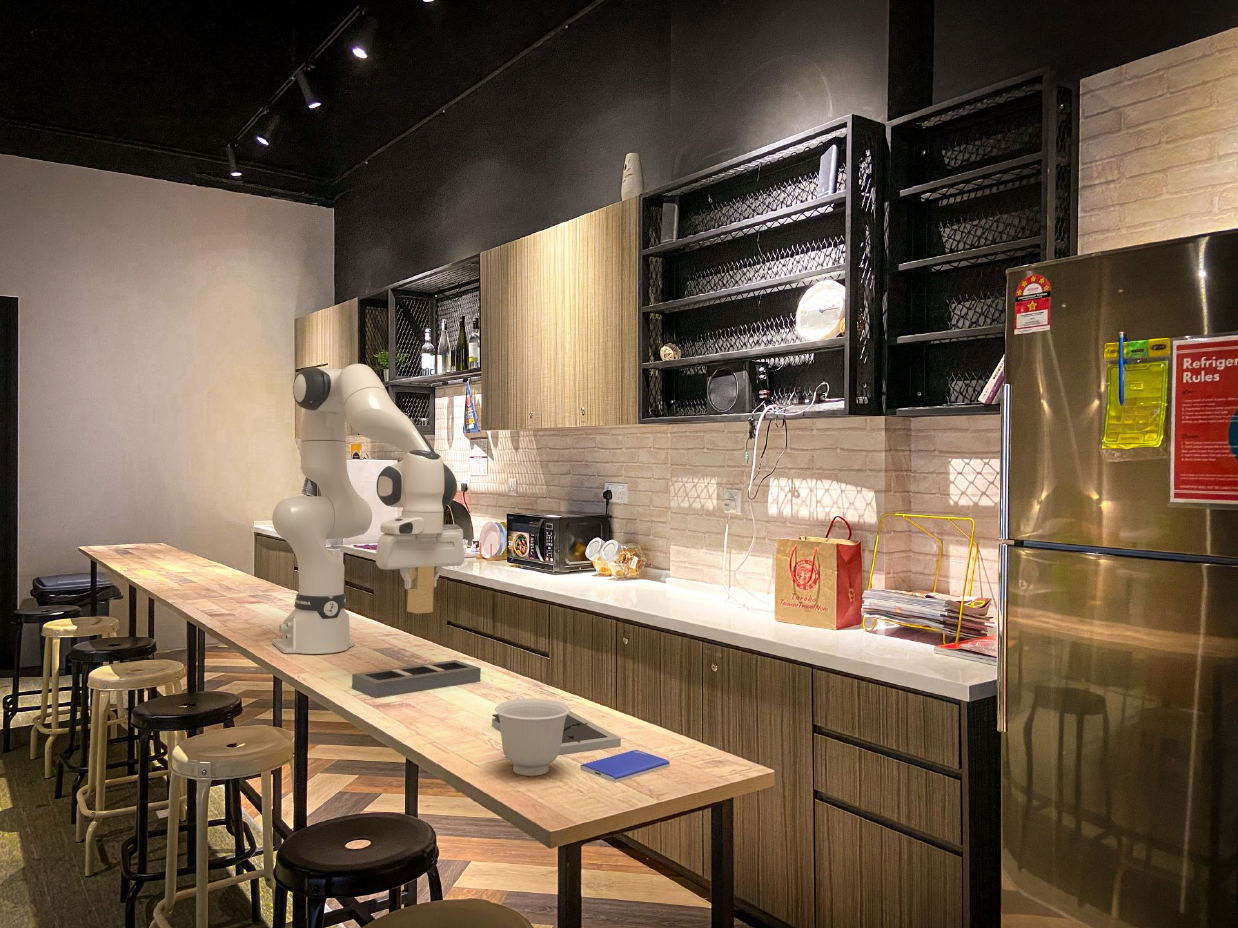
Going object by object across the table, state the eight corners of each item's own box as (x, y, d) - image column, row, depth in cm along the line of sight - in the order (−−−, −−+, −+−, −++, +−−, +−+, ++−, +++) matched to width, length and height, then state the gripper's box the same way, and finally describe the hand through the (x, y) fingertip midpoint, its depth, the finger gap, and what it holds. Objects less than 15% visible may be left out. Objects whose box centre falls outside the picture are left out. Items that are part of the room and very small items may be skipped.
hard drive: (634, 748, 159) (580, 763, 150) (669, 760, 153) (615, 776, 144) (634, 757, 159) (580, 773, 150) (669, 769, 153) (615, 786, 144)
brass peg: (407, 611, 204) (408, 565, 204) (423, 609, 206) (424, 564, 206) (416, 613, 201) (418, 567, 201) (432, 612, 203) (434, 566, 203)
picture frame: (491, 729, 174) (538, 761, 156) (492, 714, 174) (539, 744, 156) (567, 720, 181) (620, 749, 163) (568, 705, 181) (621, 733, 163)
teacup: (550, 750, 160) (552, 692, 160) (578, 778, 146) (580, 714, 146) (481, 756, 155) (483, 696, 155) (503, 786, 141) (505, 720, 141)
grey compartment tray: (351, 687, 199) (352, 672, 199) (454, 672, 216) (455, 658, 216) (375, 697, 191) (375, 682, 191) (480, 681, 208) (480, 666, 208)
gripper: (455, 522, 213) (453, 583, 213) (373, 524, 199) (371, 589, 199) (470, 524, 208) (468, 586, 208) (387, 526, 195) (385, 592, 194)
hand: (420, 588), depth 204 cm, fingers closed on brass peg, 4 cm apart
